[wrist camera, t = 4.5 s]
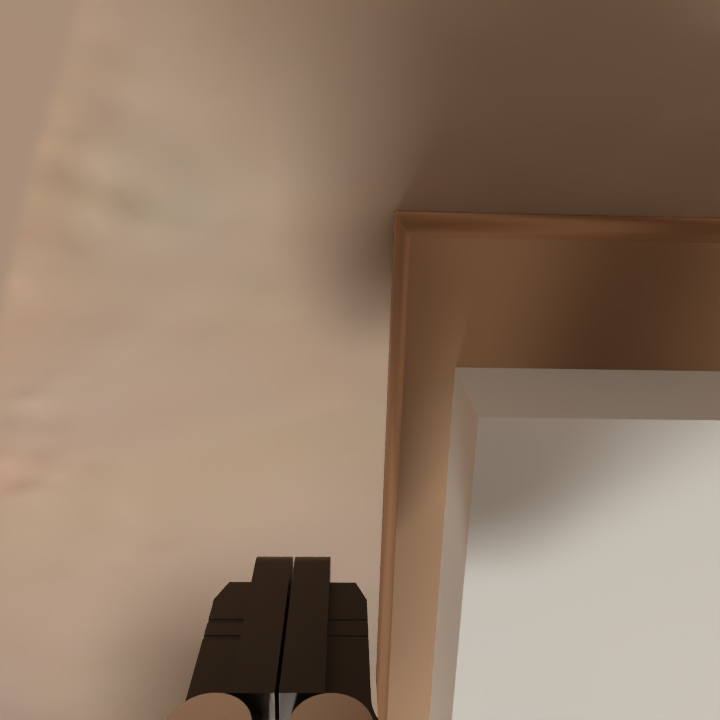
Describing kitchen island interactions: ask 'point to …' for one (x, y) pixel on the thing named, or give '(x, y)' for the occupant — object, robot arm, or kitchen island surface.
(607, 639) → the white flat block
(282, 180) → the kitchen island surface
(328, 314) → the kitchen island surface
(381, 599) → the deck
